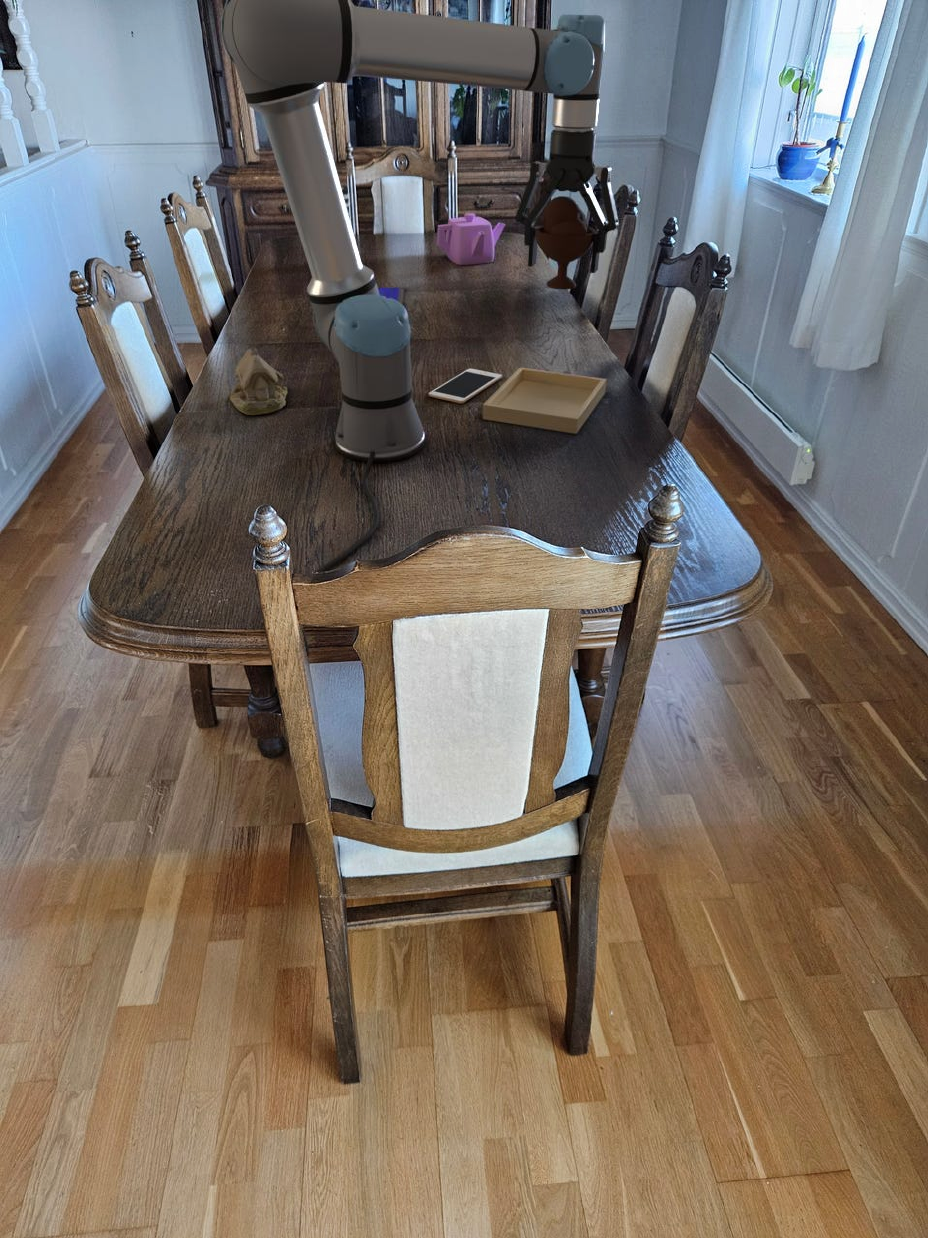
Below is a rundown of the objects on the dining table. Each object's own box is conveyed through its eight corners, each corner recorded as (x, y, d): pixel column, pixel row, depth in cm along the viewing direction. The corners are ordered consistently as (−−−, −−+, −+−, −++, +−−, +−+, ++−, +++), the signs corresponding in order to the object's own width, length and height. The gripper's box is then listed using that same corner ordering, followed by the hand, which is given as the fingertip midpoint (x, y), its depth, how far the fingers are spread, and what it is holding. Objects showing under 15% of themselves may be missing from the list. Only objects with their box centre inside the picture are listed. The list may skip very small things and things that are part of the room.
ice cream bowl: (589, 295, 147) (599, 202, 139) (527, 291, 149) (533, 199, 140) (593, 279, 156) (602, 191, 147) (534, 276, 157) (539, 188, 149)
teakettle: (457, 249, 257) (456, 206, 249) (507, 255, 250) (508, 210, 243) (431, 262, 244) (430, 216, 237) (482, 268, 238) (483, 221, 231)
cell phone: (502, 377, 168) (502, 374, 167) (462, 404, 157) (462, 400, 156) (469, 370, 171) (469, 367, 171) (427, 396, 160) (427, 393, 160)
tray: (576, 434, 146) (577, 419, 144) (482, 419, 151) (482, 404, 150) (605, 392, 162) (606, 378, 160) (519, 380, 167) (519, 367, 165)
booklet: (343, 319, 199) (343, 316, 199) (352, 290, 219) (352, 287, 219) (395, 318, 199) (395, 315, 199) (399, 290, 219) (399, 287, 219)
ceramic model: (226, 392, 162) (217, 341, 156) (283, 384, 165) (276, 334, 159) (237, 419, 152) (227, 365, 146) (297, 410, 155) (290, 357, 149)
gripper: (647, 130, 137) (630, 269, 150) (513, 122, 144) (508, 257, 157) (639, 135, 131) (621, 279, 144) (500, 127, 138) (495, 266, 151)
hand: (562, 268), depth 151 cm, fingers closed on ice cream bowl, 11 cm apart
